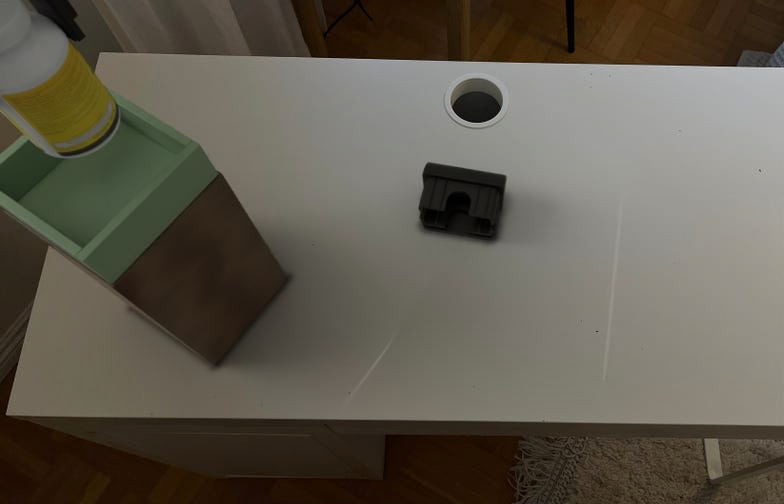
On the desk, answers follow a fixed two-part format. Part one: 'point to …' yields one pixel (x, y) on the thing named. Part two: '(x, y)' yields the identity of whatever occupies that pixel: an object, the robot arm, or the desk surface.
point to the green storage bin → (107, 190)
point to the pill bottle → (51, 86)
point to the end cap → (461, 200)
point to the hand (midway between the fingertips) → (24, 63)
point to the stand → (199, 273)
